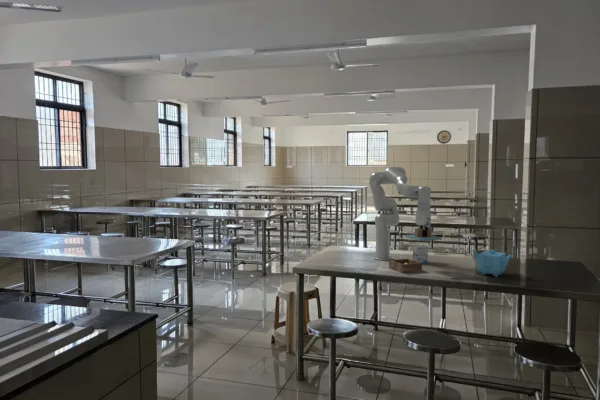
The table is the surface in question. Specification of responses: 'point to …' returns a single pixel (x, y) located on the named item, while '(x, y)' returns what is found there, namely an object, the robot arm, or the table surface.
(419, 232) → the lid
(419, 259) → the ink box
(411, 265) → the box
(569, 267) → the table surface
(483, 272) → the teakettle
